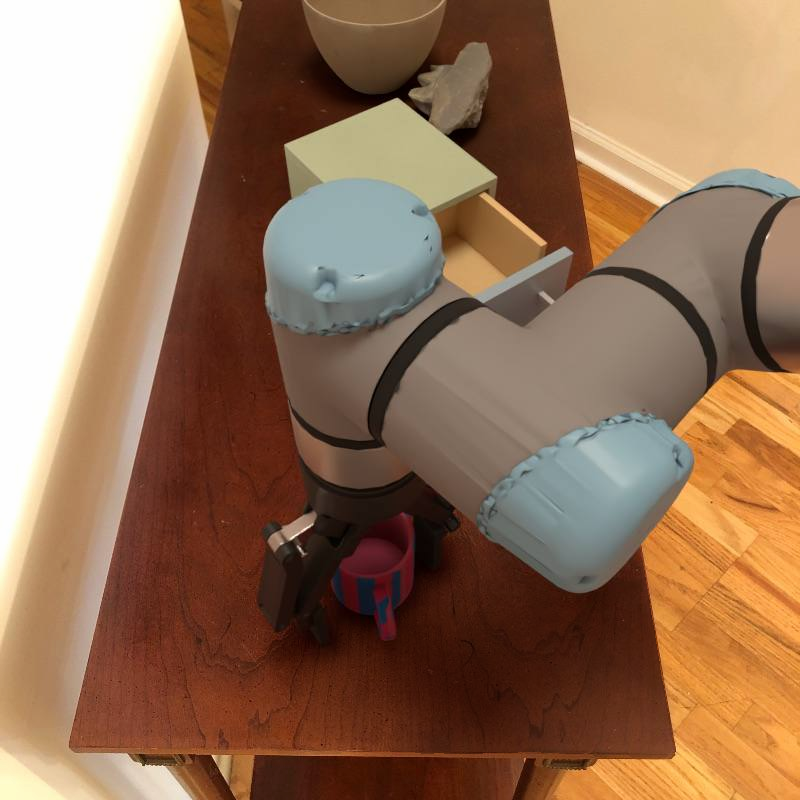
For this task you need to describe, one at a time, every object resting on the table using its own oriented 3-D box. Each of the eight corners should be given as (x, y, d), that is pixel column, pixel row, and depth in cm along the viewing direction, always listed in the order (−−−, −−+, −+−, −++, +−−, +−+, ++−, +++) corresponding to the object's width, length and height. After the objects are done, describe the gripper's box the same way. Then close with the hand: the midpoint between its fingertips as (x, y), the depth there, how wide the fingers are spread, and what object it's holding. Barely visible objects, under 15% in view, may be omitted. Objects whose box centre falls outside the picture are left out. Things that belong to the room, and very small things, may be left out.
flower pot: (331, 128, 99) (323, 35, 89) (294, 55, 109) (283, -36, 99) (463, 101, 102) (470, 8, 92) (415, 33, 112) (417, -57, 103)
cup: (409, 534, 65) (409, 492, 60) (423, 653, 59) (426, 619, 54) (328, 541, 65) (321, 501, 59) (335, 662, 59) (328, 630, 53)
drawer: (596, 348, 76) (615, 286, 69) (492, 412, 71) (501, 353, 64) (461, 230, 86) (466, 166, 79) (363, 280, 81) (359, 217, 75)
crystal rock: (482, 124, 105) (422, 79, 105) (525, 58, 98) (459, 9, 97) (445, 169, 96) (378, 120, 95) (489, 101, 88) (416, 47, 87)
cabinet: (488, 255, 85) (497, 176, 77) (380, 312, 80) (378, 234, 72) (397, 175, 93) (397, 97, 85) (294, 222, 88) (283, 144, 80)
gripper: (475, 308, 49) (454, 486, 67) (149, 489, 42) (224, 636, 60) (556, 385, 46) (511, 551, 64) (216, 599, 38) (274, 720, 56)
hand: (373, 592), depth 62 cm, fingers open, 10 cm apart
